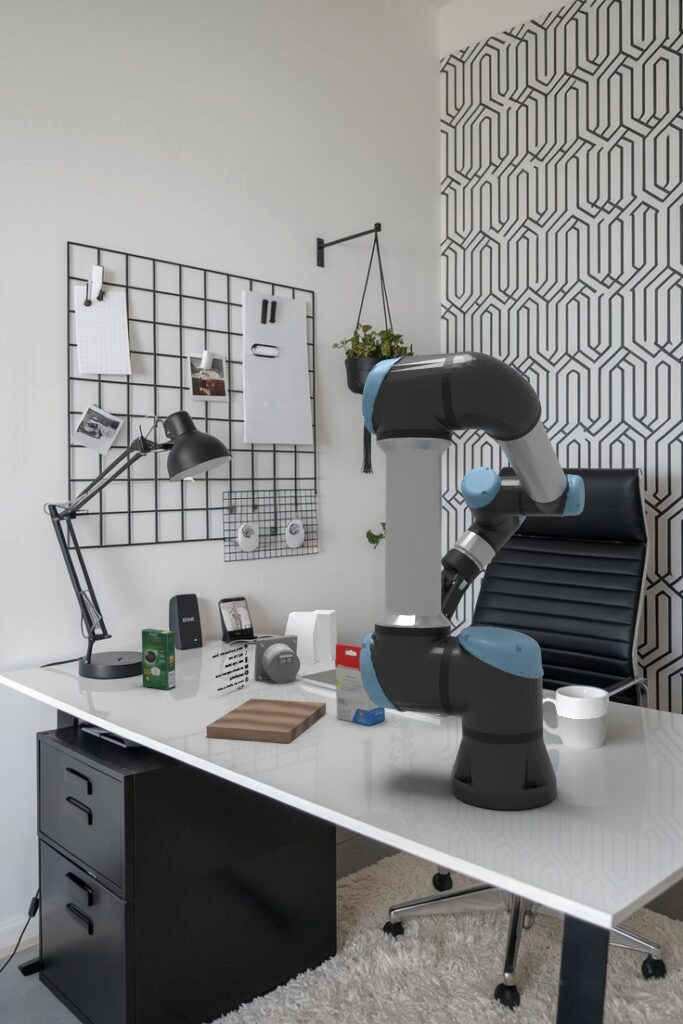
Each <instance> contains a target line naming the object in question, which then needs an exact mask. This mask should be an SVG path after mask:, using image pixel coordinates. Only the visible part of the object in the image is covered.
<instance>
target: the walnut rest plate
mask: <svg viewBox="0 0 683 1024" xmlns="http://www.w3.org/2000/svg"><path fill="white" fill-rule="evenodd" d="M326 713H327V703H326V702H317V701H316V702H315V701H299V700H298V701H297V700H282V699H281V700H280V699H263V698H250V699H248V700H247V701H245V702H244V703H242V704H240V705H239V706H237V707H235V708H234V709H232V710H230V711H229V712H227V713H226V714H224V715H223V716H220V717H219V718H217V719H216V720H214V721H213V722H211V723H209V724H207V726H206V738H211V739H212V738H213V739H223V740H225V739H226V740H228V739H229V740H236V739H239V740H240V739H241V741H250V740H254V742H263V741H267V742H266V743H276V742H281V743H280V744H290V743H291V741H292V740H293V741H294V740H295V739H296V738H298V737H300V736H301V734H302V733H304V732H305V731H307V730H308V728H310V727H311V726H312V725H314V724H315V723H316V722H317V721H318V720H320V719H321V718H322V717H323V716H324V715H326ZM268 741H269V742H268ZM293 741H292V742H293Z"/></svg>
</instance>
